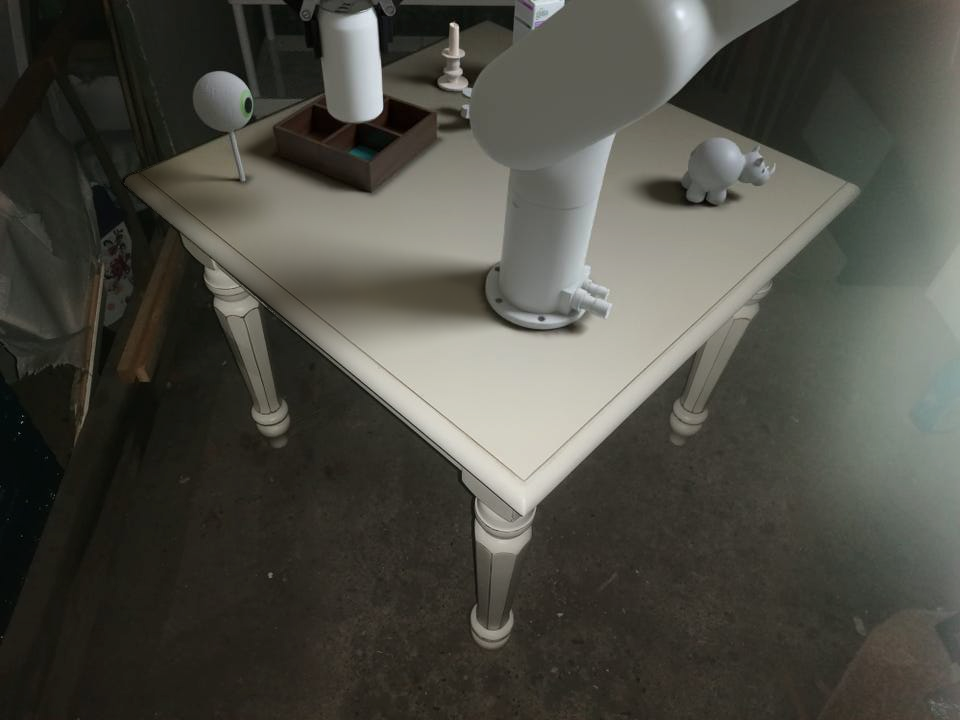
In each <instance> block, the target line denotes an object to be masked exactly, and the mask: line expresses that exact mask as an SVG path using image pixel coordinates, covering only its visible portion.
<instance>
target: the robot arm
mask: <svg viewBox="0 0 960 720" xmlns="http://www.w3.org/2000/svg"><path fill="white" fill-rule="evenodd" d="M403 1H404V0H378V2H377V4H376V7H374V10H375V11H376V13H377V16H378V22H379V37H380V54H383V55H384V56H386V55H389V44H391V43H394V34H393V33H394V29H393V28H394V27H393V16H394V15H395V14H396V12H397V11H396V10H397V8H399V6H400V5H401V4H402V2H403ZM798 1H799V0H569V1H568V2H567V3H566V4H564V6H563V7H562V8H561V9H560V10H558V11H557V12H556V13H554V14H553V15H552V16H550V17H549V18H548V19H547V20H545V21H544V22H543V23H541V24H540V25H539V26H537V27H536V28H535V29H533V30H532V31H531V32H529V33H528V34H527V35H526V36H524V37H523V38H522V39H520V40H519V41H518V42H516V43H515V44H514V45H511V46H510V47H508V48H507V49H506V50H504V51H503V52H502V53H500V54H499V55H498V56H496V57H495V58H493V59H492V60H490V62H489V63H487V65H486V66H485V67H484V68H483V69H482V70H481V72H480V73H479V74H478V76H477V78H476V79H475V81H474V84H473V87H472V88H471V89H472V93H471V97H470V99H469V103H468V105H469V118H468V119H469V125H470V128H471V132H472V135H473V138H474V139H475V141H476V143H477V144H478V146H479V148H480V149H481V150H482V152H483V153H484V154H486V155H487V157H489V158H490V159H491V160H493V161H494V162H495V163H497V164H499V165H501V166H503V167H506V168H509V174H508V175H509V176H508V181H507V193H506V203H505V214H504V224H503V235H502V245H501V255H500V260H499V261H498V262H497V263H496V264H494V265H493V266H492V268H491V269H489V272H488V274H487V275H486V278H485V279H486V280H485V296H486V299H487V302H488V303H489V305H490V307H491V308H492V309H493V310H494V311H495V312H496V313H497V314H498V315H499V316H501V317H502V318H503V319H505V320H506V321H508V322H511V323H512V324H515V325H517V326H520V327H524V328H528V329H533V330H552V329H553V330H554V329H559V328H563V327H566V326H568V325H570V324H572V323H574V322H576V321H577V320H579V319H580V318H581V317H582V316H583V315H584V314H585V313H586V311H587V312H588V313H590V314H591V315H594V316H596V317H598V318H601V319H603V320H606V319H607V318H608V317H609V315H610V312H611V310H612V307H613V303H611V302H609V301H607V299H608V297H609V294H610V291H611V290H610V289H609V288H607V287H605V286H602V285H598V284H596V283H593V279H590V274H591V269H592V267H591V266H590V265H587V264H585V263H586V259H587V258H586V257H587V253H588V249H589V245H590V239H591V236H592V231H593V225H594V221H595V218H596V217H595V216H596V212H597V208H598V203H599V197H600V195H601V194H600V193H601V190H602V187H603V182H604V177H605V174H606V169H607V165H608V162H609V157H610V153H611V150H612V148H613V147H612V146H613V143H614V140H615V138H616V137H615V136H616V134H617V133H618V132H620V131H622V130H623V129H625V128H627V127H629V126H631V125H633V124H635V123H636V122H638V121H640V120H642V119H643V118H645V117H646V116H648V115H650V114H652V113H653V112H654V111H656V110H658V109H659V108H660V107H662V106H663V105H665V103H667V102H669V101H670V100H671V99H672V98H673V97H674V96H675V95H677V94H678V93H679V92H680V91H681V90H682V89H683V88H684V87H685V86H686V85H687V84H688V83H689V82H690V81H691V80H692V79H693V77H694V76H696V75H697V74H698V72H699V71H700V70H701V69H702V68H703V67H704V66H705V65H706V64H707V63H708V62H709V61H710V60H711V59H712V58H713V57H714V56H715V55H716V54H717V53H718V52H720V50H721V49H723V48H724V47H726V46H727V45H729V44H730V43H731V42H733V41H734V40H736V39H737V38H739V37H741V36H742V35H744V34H745V33H747V32H748V31H751V30H753V29H754V28H755V27H757V26H759V25H761V24H763V23H764V22H766V21H768V20H769V19H771V18H773V17H775V16H776V15H779V14H780V13H781V12H783V11H785V10H786V9H787V8H789V7H791V6H792V5H794V4H795V3H797V2H798ZM282 2H283V3H285V4H286V6H288V7H289V8H290V9H292V10H293V11H294V12H295V13H296V14H297V15H299V17H300V19H302V27H303V34H304V41H305V47H306V49H312V51H313V55H314V59H315V60H321V58H322V52H321V43H320V35H319V26H318V20H317V14H316V11H315V8H316V5H317V2H318V0H282Z"/></svg>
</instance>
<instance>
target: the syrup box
mask: <svg viewBox="0 0 960 720" xmlns="http://www.w3.org/2000/svg"><path fill="white" fill-rule="evenodd" d="M563 6H565V0H515V3H514V15H513V16H514V17H513V29H512V30H513V31H512V43H511V44H512V45H514V44H515V43H516V42H518V41H519V40H520V39H522V38H523V37H524V36H526V35H527V34H528V33H529V32H531V31H532V30H533V29H535V28H536V27H537V26H539V25H540V24H541V23H543V22H544V21H545V20H547V19H548V18H549V17H550V16H552V15H553V14H554V13H556V12H557V11H558V10H560V9H561V8H562V7H563ZM512 45H511V46H512Z"/></svg>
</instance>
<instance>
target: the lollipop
mask: <svg viewBox="0 0 960 720" xmlns="http://www.w3.org/2000/svg"><path fill="white" fill-rule="evenodd" d="M192 92H193V93H192V103H193V106H194V110H195V112H196V114H197V116H198V117H199V119H200V120H201V121H202V122H203V123H204V124H205V125H207V126H208V127H210V128H211V129H212V130H213V129H214V130H216V131H219V132H225V133H226V132H227V133H228V137H229V141H230V145H231V149H232V152H233V157H234V161H235V165H236V169H237V172H238V177H239V181H240V182H245V181H246V177H245V173H244V167H243V164H242V160H241V156H240V152H239V148H238V144H237V139H236V136H235V133H234V131H238V130H239V129H242V128H243V127H245V126H246V124H247V123H248V122H249V121H250V119H251V118H252V115H253V111H254V100H253V96H252V93H251V90H250V89H249V87H248V86H247V85H246V83H245V82H244V81H243V80H242V79H241V78H239V77H238V76H237V75H235V74H233V73H231V72H228V71H224V70H223V71H221V70H217V71H216V70H215V71H211V72H208V73H205V74H204V75H203V76H202V77H200V78H199V79H198V80H197V82H196V83H195V86H194V88H193V91H192Z"/></svg>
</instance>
